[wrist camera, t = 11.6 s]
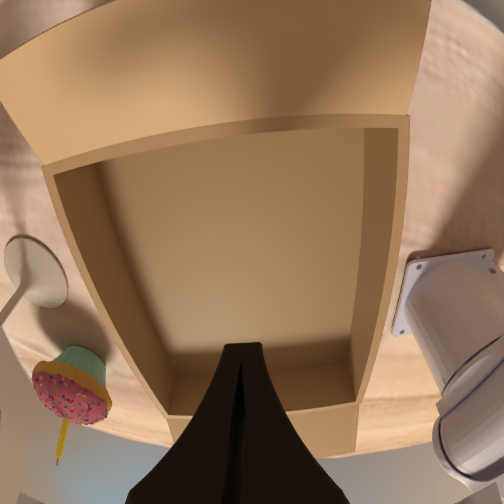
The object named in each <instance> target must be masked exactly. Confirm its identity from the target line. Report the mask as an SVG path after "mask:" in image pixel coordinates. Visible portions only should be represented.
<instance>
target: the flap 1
mask: <svg viewBox="0 0 504 504" xmlns="http://www.w3.org/2000/svg"><path fill="white" fill-rule="evenodd" d="M430 6H431V0H113V1H110V2H107V3H105V4H102V5H99V6H97V7H95V8H92V9H90V10H87V11H85V12H83V13H80V14H78V15H76V16H74V17H72V18H70V19H68V20H65V21H63V22H61V23H59V24H57V25H55V26H53V27H52V28H50V29H48V30H46V31H44V32H42V33H40V34H39V35H37V36H35V37H33V38H32V39H30V40H28V41H27V42H25V43H23V44H22V45H20V46H18V47H17V48H15V49H14V50H12V51H11V52H9V53H8V54H6V55H5V56H3V57H2V58H0V101H1V103H2V105H3V106H4V108H5V109H6V111H7V113H8V114H9V116H10V117H11V119H12V120H13V122H14V123H15V125H16V126H17V128H18V129H19V131H20V132H21V134H22V135H23V137H24V138H25V140H26V141H27V143H28V144H29V145H30V147H31V148H32V150H33V151H34V152H35V154H36V155H37V157H38V158H39V159H40V161H41V162H42V164H43V165H47V164H50V163H53V162H56V161H59V160H62V159H65V158H68V157H71V156H74V155H78V154H81V153H84V152H88V151H91V150H95V149H98V148H102V147H106V146H109V145H113V144H117V143H121V142H125V141H129V140H133V139H138V138H142V137H147V136H151V135H156V134H161V133H166V132H171V131H176V130H182V129H187V128H193V127H199V126H205V125H212V124H219V123H226V122H234V121H242V120H250V119H260V118H271V117H283V116H297V115H317V114H394V115H406V114H407V110H408V107H409V103H410V99H411V96H412V92H413V88H414V84H415V80H416V76H417V72H418V67H419V63H420V59H421V54H422V49H423V45H424V40H425V35H426V29H427V24H428V18H429V12H430Z"/></svg>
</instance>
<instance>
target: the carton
mask: <svg viewBox="0 0 504 504" xmlns="http://www.w3.org/2000/svg"><path fill="white" fill-rule="evenodd" d="M409 144H410V115H407V114H406V115H394V114H317V115H297V116H283V117H271V118H260V119H250V120H242V121H234V122H226V123H219V124H212V125H205V126H199V127H193V128H187V129H182V130H176V131H171V132H166V133H161V134H156V135H151V136H147V137H142V138H138V139H133V140H129V141H125V142H121V143H117V144H113V145H109V146H106V147H102V148H98V149H95V150H91V151H88V152H84V153H81V154H78V155H74V156H71V157H68V158H65V159H62V160H59V161H56V162H53V163H50V164H47V165H43V166H41V168H42V171H43V175H44V178H45V181H46V185H47V188H48V191H49V194H50V197H51V200H52V203H53V206H54V209H55V212H56V215H57V218H58V220H59V223H60V226H61V228H62V231H63V234H64V236H65V239H66V241H67V244H68V246H69V249H70V251H71V254H72V256H73V258H74V261H75V263H76V265H77V268H78V270H79V272H80V274H81V276H82V279H83V281H84V283H85V285H86V287H87V289H88V291H89V294H90V296H91V298H92V300H93V302H94V304H95V306H96V308H97V310H98V312H99V313H100V315H101V317H102V319H103V321H104V323H105V325H106V327H107V329H108V330H109V332H110V334H111V336H112V338H113V339H114V341H115V343H116V345H117V346H118V348H119V350H120V351H121V353H122V355H123V357H124V358H125V360H126V362H127V363H128V365H129V366H130V368H131V370H132V371H133V373H134V374H135V376H136V378H137V379H138V381H139V382H140V384H141V385H142V387H143V388H144V390H145V391H146V393H147V394H148V396H149V397H150V399H151V400H152V402H153V403H154V404H155V406H156V407H157V409H158V410H159V412H160V413H161V414H162V416H163V417H164V418H175V419H192V417H193V415H194V414H195V412H196V410H197V408H198V406H199V405H200V403H201V401H202V399H203V397H204V395H205V393H206V391H207V389H208V387H209V385H210V382H211V380H212V378H213V376H214V373H215V371H216V368H217V366H218V363H219V360H220V358H221V354H222V351H223V348H224V345H226V344H230V343H248V342H260V343H262V347H263V355H264V360H265V363H266V367H267V370H268V373H269V376H270V379H271V381H272V384H273V386H274V389H275V391H276V393H277V396H278V398H279V400H280V402H281V404H282V406H283V408H284V410H285V412H286V414H287V415H290V414H299V413H307V412H315V411H322V410H329V409H335V408H341V407H346V406H352V405H357V404H361V403H362V400H363V397H364V394H365V391H366V388H367V385H368V382H369V379H370V376H371V373H372V369H373V366H374V362H375V359H376V355H377V352H378V348H379V344H380V341H381V337H382V333H383V329H384V325H385V321H386V317H387V312H388V308H389V303H390V299H391V294H392V289H393V284H394V279H395V273H396V268H397V262H398V256H399V250H400V243H401V236H402V229H403V221H404V212H405V203H406V193H407V181H408V166H409Z"/></svg>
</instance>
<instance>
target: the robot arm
mask: <svg viewBox="0 0 504 504" xmlns="http://www.w3.org/2000/svg"><path fill="white" fill-rule="evenodd" d="M494 255H495V251H494V250H493V249H484V250H478V251H471V252H465V253H458V254H451V255H444V256H437V257H430V258H422V259H415V260H411V261H409V262H408V263H407V266H406V270H405V275H404V280H403V285H402V289H401V294H400V298H399V302H398V306H397V311H396V315H395V318H394V322H393V326H392V330H391V334H392V336H394V337H396V336H401V335H406V334H410V333H413V335H414V337H415V339H416V341H417V343H418V345H419V347H420V349H421V351H422V353H423V356H424V358H425V360H426V362H427V364H428V366H429V368H430V371H431V373H432V375H433V377H434V379H435V382H436V384H437V386H438V388H439V391H440V393H441V395H442V398H441V399H440V401H439V402H438V403H437V404H436V407H437V409H438V412H439V414H440V416H439V417H438V418H437V420H436V421H435V423H434V427H433V432H432V441H433V447H434V452H435V455H436V458H437V460H438V462H439V464H440V465H441V466H442V468H443V469H444V470H445V471H446V472H447V473H448V474H450V476H452V477H453V478H455V479H457V480H459V481H461V482H462V483H464V484H465V485H466V486H467V487H468V489H469V490H470V491H471V493H472V495H470V496H468V497H466V498H465V499H463V500H461V501H460V502H457V503H455V504H502V501H501V499H504V272H503V271H502V270H501V269H500V268H499V267H498V266H497V265H496V264H495V263H494V262H493V258H494ZM419 264H420V265H419ZM418 265H419V266H418ZM417 266H418V267H417ZM17 504H44V503H42V502H40V501H38V500H36V499H33V498H31V497H29V496H27V495H25V494H23V493H22V492H20V493H19V496H18V500H17ZM125 504H350V503H349V501H348V500H347V498H346V496H345V495H344V493H343V491H342V490H341V489H340V488H339V486H338V485H336V483H335V482H334V481H333V480H332V479H331V478H330V477H329V476H328V474H327V473H326V472H325V471H324V470H323V468H322V467H321V466H320V465H319V463H318V462H317V461H316V459H315V458H314V456H313V455H312V454H311V452H310V451H309V450H308V448H307V447H306V445H305V444H304V443H303V441H302V439H301V438H300V436H299V435H298V433H297V432H296V430H295V428H294V427H293V425H292V423H291V421H290V420H289V418H288V416H287V414H286V412H285V410H284V408H283V406H282V404H281V402H280V400H279V398H278V396H277V393H276V391H275V389H274V386H273V384H272V381H271V379H270V376H269V373H268V370H267V367H266V363H265V360H264V355H263V347H262V343H260V342H248V343H230V344H226V345H224V348H223V351H222V354H221V358H220V360H219V363H218V366H217V368H216V371H215V373H214V376H213V378H212V380H211V382H210V385H209V387H208V389H207V391H206V393H205V395H204V397H203V399H202V401H201V403H200V405H199V406H198V408H197V410H196V412H195V414H194V415H193V417H192V419H191V420H190V422H189V423H188V425H187V426H186V428H185V429H184V431H183V432H182V434H181V435H180V437H179V438H178V439H177V441H176V442H175V443H174V445H173V446H172V447H171V449H170V450H169V451H168V452H167V453H166V455H165V456H164V457H163V458H162V459H161V460H160V461H159V462H158V464H157V465H156V466H155V467H154V468H153V469H152V470H151V471H150V472H149V473H148V474H147V475H146V476H145V477H144V478H143V479H142V480H141V481H140V482H139V483H138V484H136V485H135V486H134V487H133V488H132V489H131V490H130V491H129V493H128V496H127V499H126V502H125Z"/></svg>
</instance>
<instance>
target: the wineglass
mask: <svg viewBox="0 0 504 504" xmlns="http://www.w3.org/2000/svg"><path fill="white" fill-rule="evenodd" d="M4 264H5V268H6V271H7V274H8V276H9V278H10V280H11V282H12V283H13V285H14V286H15V288H16V289H17V291H16V292H15V293H14V295H13V296H12V297H11V298H10V300H9V301H8V302H7V304H6V305H5V307H4V308H3V309H2V311H1V312H0V328H1V327H2V325H3V324H4V322H5V321H6V319H7V318H8V316H9V315H10V313H11V312H12V311H13V309H14V308H15V306H16V305H17V304H18V302H19V301H20V299H21V298H22V297H23V296H24V297H25V298H26V299H28V300H29V301H31V302H32V303H34V304H36V305H38V306H41V307H45V308H56V307H58V306H60V305H61V304H62V303H63V302H64V301H65V300H66V297H67V295H68V282H67V278H66V275H65V273H64V270H63V268H62V267H61V265H60V263H59V262H58V260H57V259H56V258H55V257H54V255H53V254H52V253H51V252H50V251H49V250H48V249H47V248H45V247H44V246H43V245H42V244H40V243H38V242H37V241H35V240H32V239H29V238H23V237H20V238H16V239H14V240H12V241H11V242H10V243H9V244H8V245H7V247H6V249H5V254H4ZM0 415H1V412H0ZM0 419H1V417H0Z"/></svg>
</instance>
